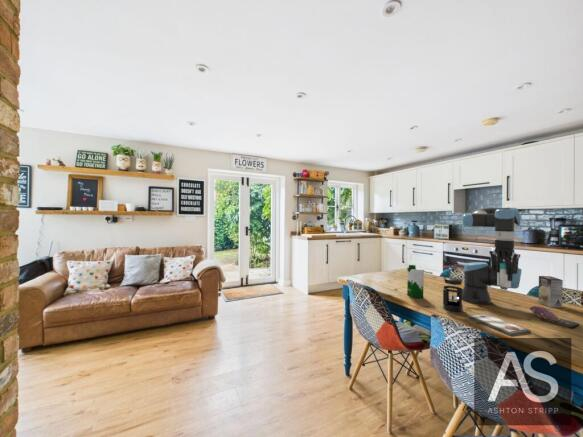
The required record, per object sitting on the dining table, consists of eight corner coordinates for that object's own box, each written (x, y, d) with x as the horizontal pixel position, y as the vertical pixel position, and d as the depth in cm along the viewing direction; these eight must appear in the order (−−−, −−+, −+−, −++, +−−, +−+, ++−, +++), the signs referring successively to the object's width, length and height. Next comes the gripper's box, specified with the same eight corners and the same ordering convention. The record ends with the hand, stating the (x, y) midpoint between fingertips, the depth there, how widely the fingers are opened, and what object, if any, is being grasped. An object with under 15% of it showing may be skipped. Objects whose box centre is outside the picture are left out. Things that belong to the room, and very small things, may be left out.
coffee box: (537, 301, 153) (537, 275, 153) (550, 302, 151) (550, 276, 151) (549, 307, 144) (550, 279, 144) (563, 307, 142) (563, 279, 142)
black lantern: (451, 305, 145) (452, 265, 145) (468, 311, 136) (468, 269, 136) (436, 307, 141) (437, 267, 141) (452, 314, 132) (452, 270, 132)
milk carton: (405, 294, 167) (405, 264, 167) (419, 294, 166) (419, 264, 166) (411, 298, 158) (411, 266, 158) (425, 298, 158) (426, 266, 158)
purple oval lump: (531, 317, 132) (526, 305, 132) (538, 313, 133) (533, 301, 132) (553, 325, 122) (547, 312, 122) (560, 320, 123) (555, 308, 122)
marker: (497, 288, 128) (497, 262, 128) (502, 287, 128) (503, 262, 128) (504, 290, 124) (505, 264, 124) (510, 289, 125) (510, 263, 125)
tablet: (467, 317, 127) (467, 315, 127) (486, 315, 130) (486, 313, 130) (509, 335, 108) (509, 332, 108) (530, 332, 111) (530, 329, 111)
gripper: (482, 238, 133) (482, 282, 133) (516, 241, 118) (515, 291, 118) (493, 238, 135) (493, 281, 135) (528, 241, 119) (527, 290, 119)
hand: (503, 286), depth 126 cm, fingers closed on marker, 3 cm apart
